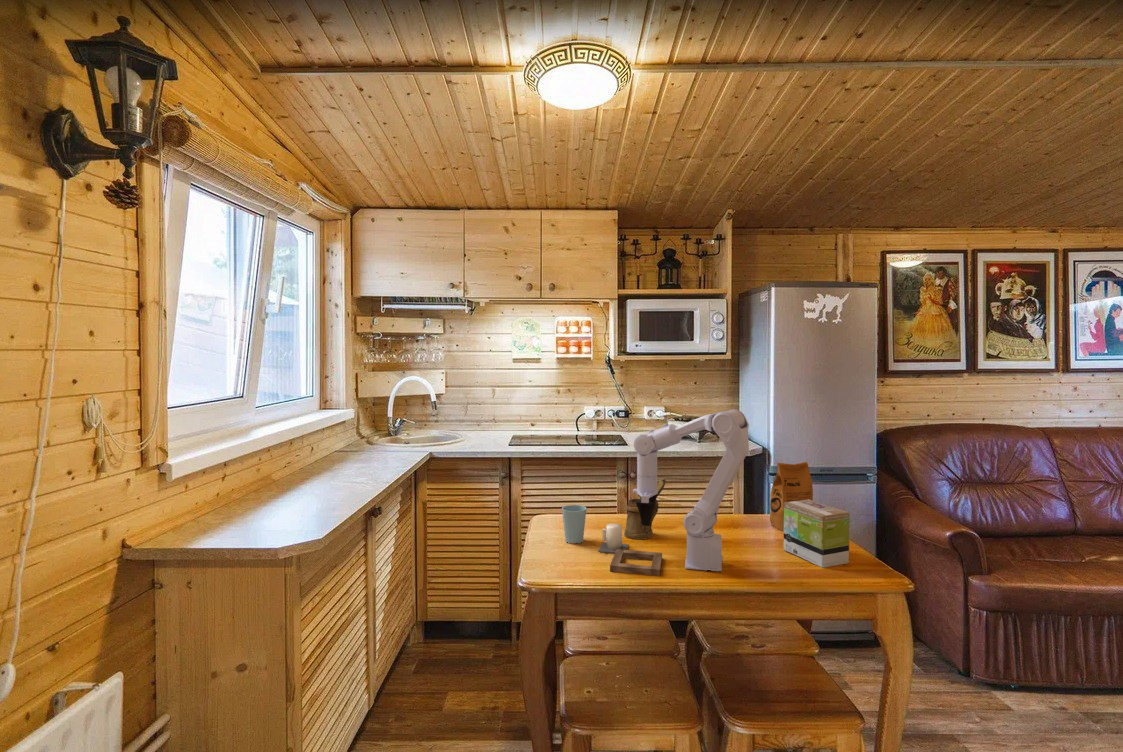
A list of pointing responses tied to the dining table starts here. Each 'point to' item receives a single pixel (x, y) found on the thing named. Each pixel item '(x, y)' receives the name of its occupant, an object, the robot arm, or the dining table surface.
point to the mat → (604, 549)
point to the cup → (574, 523)
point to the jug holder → (636, 569)
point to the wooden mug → (634, 520)
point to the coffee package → (789, 489)
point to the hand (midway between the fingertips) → (647, 521)
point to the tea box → (816, 532)
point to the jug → (612, 536)
